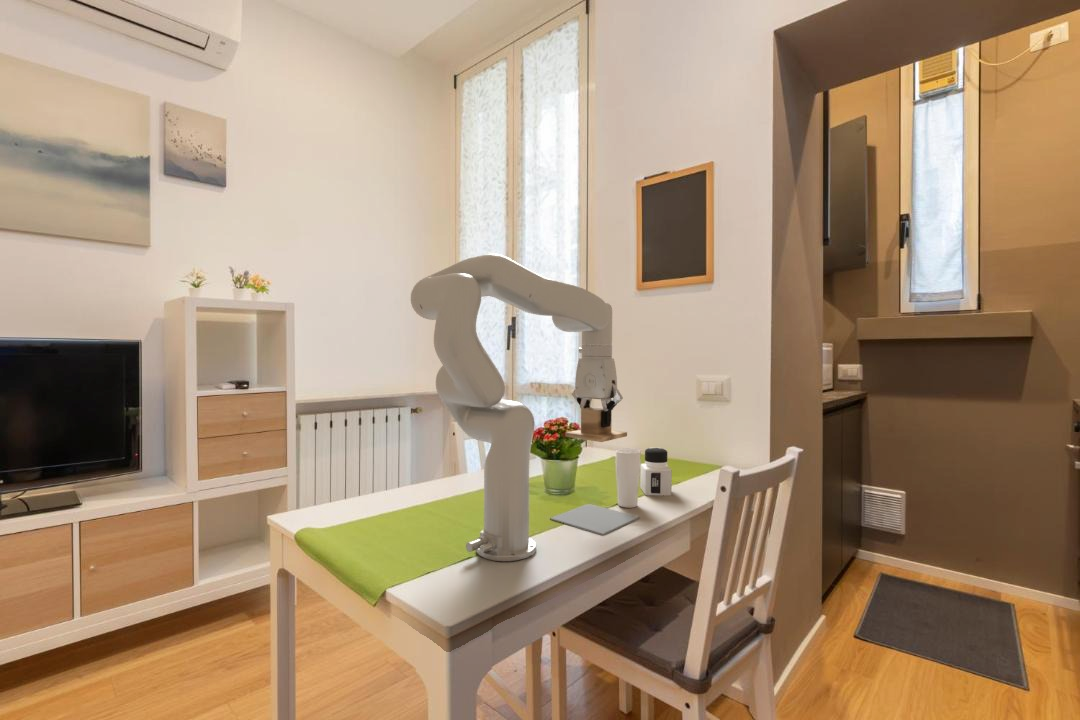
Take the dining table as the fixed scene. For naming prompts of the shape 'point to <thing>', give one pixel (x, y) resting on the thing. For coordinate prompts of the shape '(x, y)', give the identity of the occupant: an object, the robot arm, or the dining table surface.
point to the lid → (594, 427)
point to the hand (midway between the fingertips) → (596, 424)
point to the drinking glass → (627, 476)
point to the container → (656, 473)
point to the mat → (595, 519)
